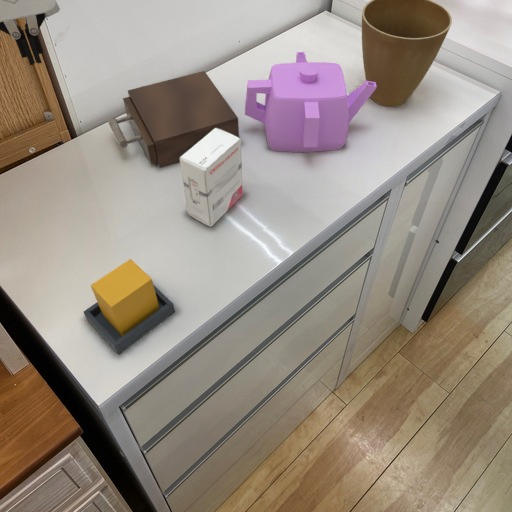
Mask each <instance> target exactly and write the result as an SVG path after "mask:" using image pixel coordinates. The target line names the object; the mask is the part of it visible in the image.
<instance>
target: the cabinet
mask: <svg viewBox="0 0 512 512" xmlns="http://www.w3.org/2000/svg"><path fill="white" fill-rule="evenodd" d="M127 95H128V97H130V99H131V101H132V103H133V105H134V107H135V108H136V110H137V112H138V114H139V116H140V118H141V120H142V122H143V124H144V125H145V127H146V129H147V131H148V133H149V135H150V137H151V139H152V141H153V142H154V145H155V150H156V156H157V162H156V164H157V165H158V167H159V168H164V167H167V166H170V165H173V164H177V163H180V157H181V156H182V155H183V154H185V153H186V152H187V151H188V150H189V149H191V148H192V147H193V146H194V145H195V144H197V143H198V142H199V141H200V140H201V139H203V138H204V137H205V136H206V135H207V134H209V133H210V132H211V131H212V130H213V129H215V128H218V129H221V130H223V131H226V132H228V133H230V134H232V135H234V136H236V137H239V138H240V132H239V117H238V115H237V114H236V113H235V111H234V110H233V108H232V107H231V105H230V104H229V103H228V102H227V100H226V99H225V98H224V96H223V94H221V92H220V91H219V89H218V88H217V87H216V85H215V84H214V82H213V80H212V78H210V76H209V75H208V74H207V72H206V71H205V70H202V71H198V72H194V73H191V74H187V75H183V76H179V77H175V78H171V79H166V80H162V81H159V82H155V83H152V84H148V85H144V86H139V87H135V88H132V89H128V90H127Z"/></svg>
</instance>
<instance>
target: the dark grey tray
mask: <svg viewBox="0 0 512 512" xmlns="http://www.w3.org/2000/svg"><path fill="white" fill-rule="evenodd" d="M153 286H154V290H155V293H156V297H157V301H158V305H159V308H160V309H159V310H158V311H156V312H155V313H154V314H152V315H151V316H149V317H148V318H147V319H145V320H144V321H143V322H141V323H140V324H139V325H137V326H136V327H135V328H133V329H132V330H130V331H129V332H128V333H126V334H125V335H124V336H121V335H120V333H119V332H118V331H117V330H116V329H115V328H114V327H113V326H112V325H111V324H110V323H109V322H108V321H107V320H106V318H105V317H104V316H103V314H102V312H101V309H100V307H99V304H98V302H97V301H96V302H95V303H94V304H92V305H91V306H90V307H88V308H86V309H85V310H83V315H84V317H85V319H86V321H87V322H88V323H89V324H90V326H92V328H94V330H96V332H97V333H98V334H99V335H100V336H101V337H102V339H103V340H104V341H105V342H106V343H107V344H108V345H109V346H110V347H111V348H112V350H114V352H115V353H116V354H117V355H119V354H121V353H122V352H123V351H125V350H126V349H128V348H129V347H130V346H131V345H133V344H134V343H135V342H137V341H139V340H140V339H141V338H142V337H143V336H145V335H146V334H147V333H150V331H151V330H153V329H154V328H155V327H157V326H158V325H159V324H160V323H162V322H163V321H165V320H167V319H168V318H169V317H170V316H171V315H173V314H174V313H176V310H175V305H174V303H173V302H172V301H171V300H170V299H169V298H168V297H167V296H166V295H165V294H164V293H163V292H162V291H160V289H159V288H157V287H156V286H155V285H154V284H153Z"/></svg>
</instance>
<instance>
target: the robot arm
mask: <svg viewBox="0 0 512 512" xmlns="http://www.w3.org/2000/svg"><path fill="white" fill-rule="evenodd" d="M60 8H61V7H60V5H59V4H58V2H57V0H0V31H1V32H3V33H5V34H7V35H9V36H11V38H12V39H13V40H14V41H15V43H16V45H17V48H18V51H19V53H20V56H21V58H22V59H24V58H27V60H28V63H29V65H30V66H34V65H35V64H42V63H43V61H42V60H41V56H40V55H42V54H44V49H43V47H42V44H41V41H40V38H39V32H40V31H39V30H40V28H41V26H42V25H43V23H44V22H45V19H46V18H49V17H51V16H54V15H55V14H57V13H59V12H60ZM23 18H24V20H25V21H24V22H25V24H24V29H22V27H21V26H20V25H18V23H17V22H16V20H19V19H23Z"/></svg>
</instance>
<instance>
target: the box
mask: <svg viewBox="0 0 512 512" xmlns="http://www.w3.org/2000/svg"><path fill="white" fill-rule="evenodd" d="M153 282H154V281H153V279H152V278H151V276H150V275H149V274H147V273H146V272H145V270H143V269H142V268H141V267H140V266H139V265H138V264H137V263H136V262H135V261H133V259H132V258H129V259H128V260H126V261H125V262H123V263H122V264H120V265H119V266H117V267H116V268H114V269H113V270H111V271H110V272H108V273H106V274H105V275H104V276H102V277H100V278H99V279H97V280H96V281H95V282H93V283H92V284H90V288H91V290H92V292H93V293H92V294H93V295H94V297H95V300H96V303H97V302H98V304H99V307H100V309H101V312H102V314H103V316H104V317H105V318H106V320H107V321H108V322H109V323H110V324H111V325H112V326H113V327H114V328H115V329H116V330H117V331H118V332H119V333H120V335H121V336H124V335H125V334H126V333H128V332H129V331H130V330H132V329H133V328H135V327H136V326H137V325H139V324H140V323H141V322H143V321H144V320H145V319H147V318H148V317H149V316H151V315H152V314H154V313H155V312H156V311H158V310H159V309H160V308H159V305H158V301H157V297H156V293H155V290H154V286H155V285H154V283H153ZM153 285H154V286H153Z"/></svg>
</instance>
